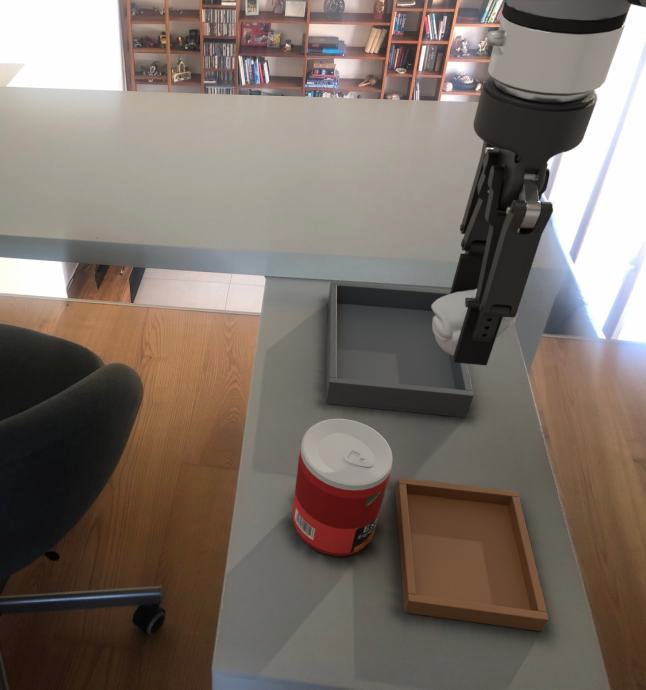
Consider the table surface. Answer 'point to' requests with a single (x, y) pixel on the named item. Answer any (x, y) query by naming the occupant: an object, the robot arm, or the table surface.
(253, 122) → the table surface
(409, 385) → the tub
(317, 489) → the canned food
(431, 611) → the tray
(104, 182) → the table surface
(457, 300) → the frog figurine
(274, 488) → the table surface
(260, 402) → the table surface
